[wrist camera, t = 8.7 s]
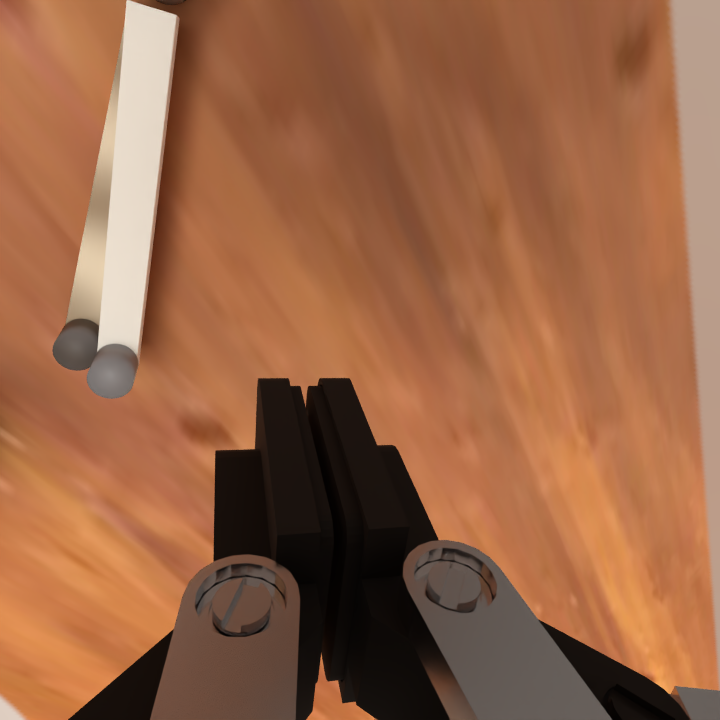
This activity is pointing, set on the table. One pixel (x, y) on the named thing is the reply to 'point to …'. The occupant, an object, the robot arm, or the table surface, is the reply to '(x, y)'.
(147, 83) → the tongs moving jaw
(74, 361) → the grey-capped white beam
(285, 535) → the robot arm
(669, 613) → the table surface
